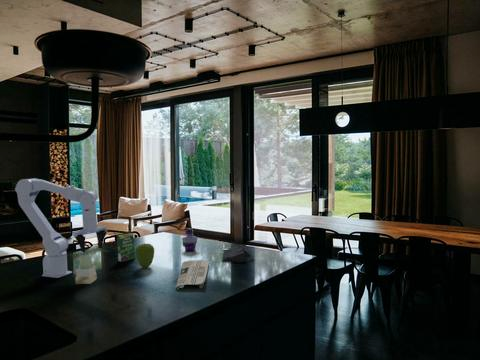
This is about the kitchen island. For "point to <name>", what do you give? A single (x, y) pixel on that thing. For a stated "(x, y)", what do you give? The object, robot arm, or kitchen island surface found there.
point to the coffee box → (125, 247)
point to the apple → (144, 255)
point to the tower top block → (85, 272)
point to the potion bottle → (189, 241)
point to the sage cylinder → (85, 261)
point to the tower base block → (86, 279)
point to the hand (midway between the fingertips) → (91, 249)
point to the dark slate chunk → (237, 255)
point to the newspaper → (192, 273)
